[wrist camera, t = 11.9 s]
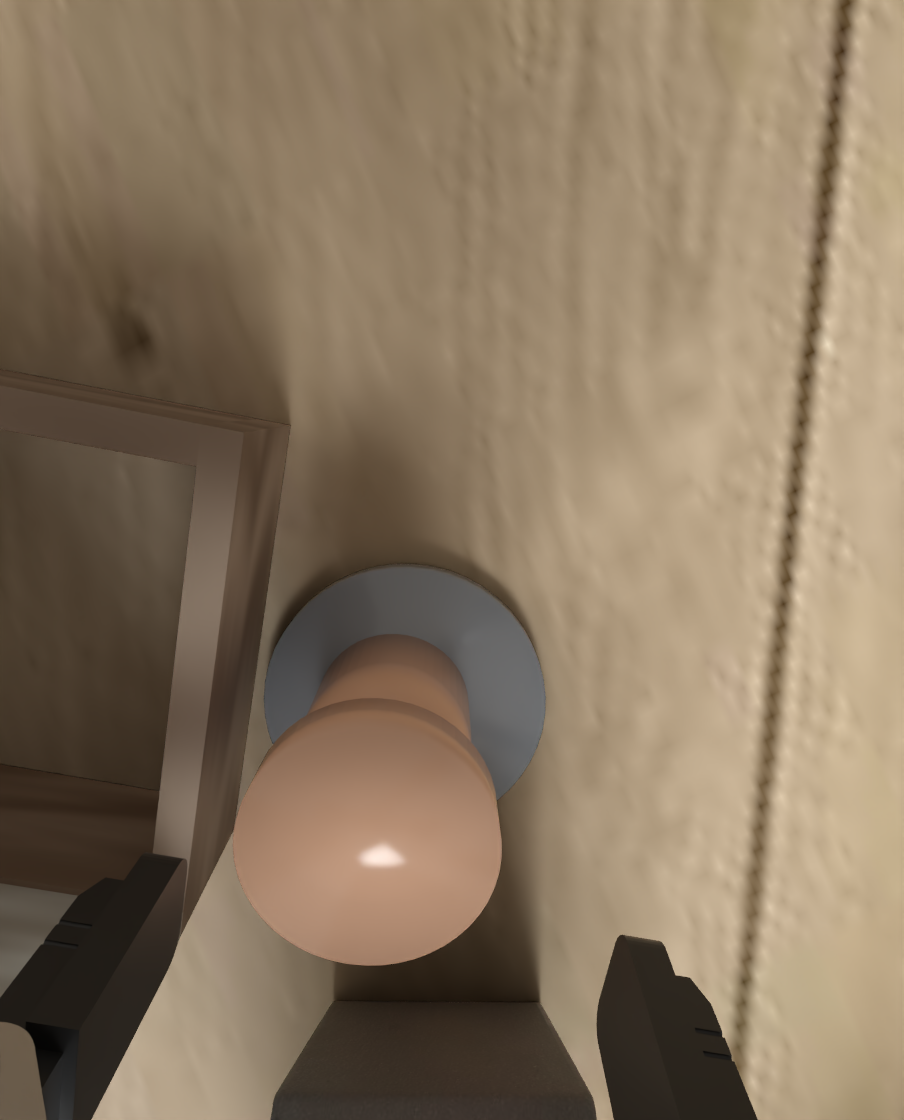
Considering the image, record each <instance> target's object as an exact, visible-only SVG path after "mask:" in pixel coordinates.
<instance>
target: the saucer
mask: <svg viewBox="0 0 904 1120" xmlns="http://www.w3.org/2000/svg"><path fill="white" fill-rule="evenodd" d="M383 634H401V635H408V636H412V637H416V638H419V639H422V640H424V641H427V642H428V643H430V644H432V645H434V646H436V647H437V648H438V649H440V650H441V651H443V652H444V653H445V654H446V655H447V656H448V657H449V658H450V659H451V660H452V661H453V663H454V664H455V665H456V667H457V668H458V670H459V671H460V673H461V675H462V677H463V680H464V682H465V685H466V689H467V693H468V700H469V714H470V728H471V743H472V744H473V745H474V746H475V747H476V749H477V750H478V752H479V753H480V755H481V757H482V758H483V760H484V761H485V763H486V766H487V768H488V770H489V772H490V774H491V777H492V781H493V784H494V788H495V793H496V800H498V799H499V798H500V797H502V796H503V795H504V794H505V793H506V792H507V791H508V790H509V789H510V788H511V787H512V786H513V785H514V784H515V782H516V781H517V780H518V779H519V778H520V777H521V775H522V774H523V772H524V770H525V769H526V767H527V766H528V764H529V763H530V761H531V759H532V757H533V755H534V753H535V750H536V748H537V746H538V743H539V740H540V736H541V733H542V730H543V724H544V718H545V700H546V696H545V687H544V679H543V675H542V671H541V668H540V664H539V661H538V658H537V655H536V652H535V650H534V648H533V645H532V643H531V640H530V638H529V636H528V635H527V633H526V631H525V629H524V628H523V626H522V624H521V623H520V622H519V620H518V619H517V618H516V616H515V615H514V614H513V613H512V611H511V610H510V609H509V608H508V607H507V606H506V605H505V604H504V603H503V602H502V601H501V600H500V599H499V598H498V597H496V596H495V595H494V594H492V593H491V592H490V591H488V590H487V589H486V588H484V587H483V586H481V585H479V584H478V583H476V582H474V581H472V580H470V579H469V578H467V577H464V576H462V575H459V574H457V573H454V572H452V571H449V570H445V569H441V568H437V567H433V566H427V565H419V564H390V565H383V566H376V567H372V568H368V569H365V570H361V571H358V572H355V573H353V574H350V575H348V576H346V577H343V578H341V579H339V580H337V581H336V582H334V583H332V584H331V585H329V586H327V587H326V588H324V589H323V590H322V591H320V592H319V593H318V594H316V595H315V596H314V597H313V598H311V599H310V600H309V601H308V603H307V604H306V605H305V606H304V607H303V608H302V609H301V610H300V611H299V612H298V613H297V615H296V616H295V617H294V619H293V620H292V621H291V623H290V624H289V626H288V627H287V628H286V630H285V631H284V633H283V634H282V636H281V638H280V640H279V642H278V644H277V645H276V647H275V650H274V652H273V655H272V658H271V660H270V663H269V666H268V671H267V676H266V680H265V691H264V707H265V718H266V722H267V727H268V732H269V735H270V738H271V741H272V743H273V744H274V743H275V741H276V740H277V739H278V738H279V737H280V736H281V735H282V734H283V733H284V732H285V731H286V730H287V729H288V728H289V727H290V726H292V725H293V724H294V723H296V722H297V721H298V720H300V719H301V718H303V717H305V716H306V715H307V713H308V711H309V709H310V706H311V704H312V702H313V700H314V697H315V695H316V693H317V691H318V689H319V686H320V684H321V682H322V680H323V677H324V675H325V673H326V672H327V670H328V668H329V666H330V665H331V664H332V662H333V661H334V660H335V659H336V658H337V657H338V656H339V655H340V654H341V653H342V652H343V651H344V650H346V649H347V648H348V647H349V646H351V645H353V644H355V643H357V642H358V641H361V640H363V639H366V638H369V637H373V636H376V635H383Z"/></svg>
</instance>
